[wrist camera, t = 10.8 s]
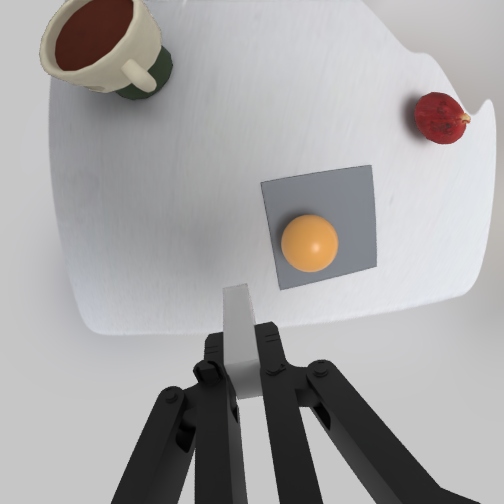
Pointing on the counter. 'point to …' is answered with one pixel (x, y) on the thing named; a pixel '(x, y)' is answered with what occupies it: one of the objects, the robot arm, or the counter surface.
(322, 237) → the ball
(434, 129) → the onion
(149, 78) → the character mug
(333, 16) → the counter surface
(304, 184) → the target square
